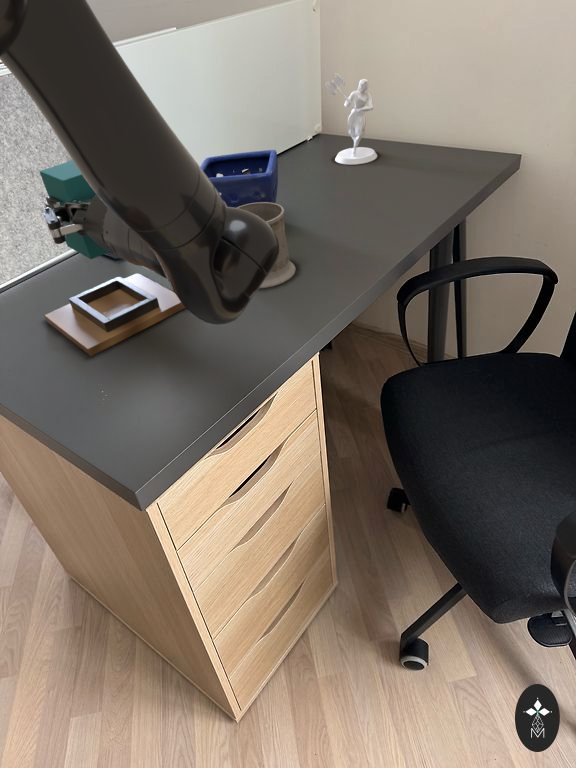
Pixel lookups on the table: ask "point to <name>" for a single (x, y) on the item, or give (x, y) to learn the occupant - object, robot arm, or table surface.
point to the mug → (275, 219)
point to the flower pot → (244, 177)
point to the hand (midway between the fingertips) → (69, 198)
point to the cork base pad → (113, 312)
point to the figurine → (355, 122)
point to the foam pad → (65, 187)
